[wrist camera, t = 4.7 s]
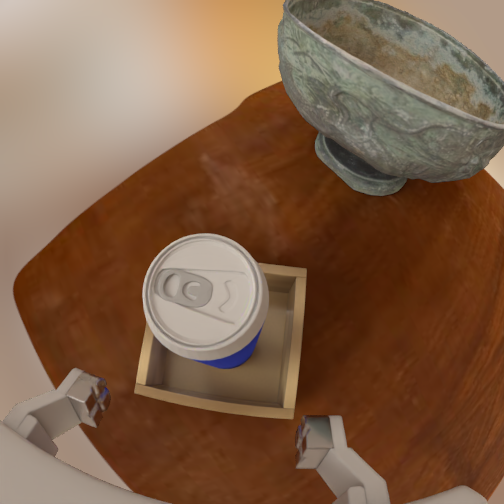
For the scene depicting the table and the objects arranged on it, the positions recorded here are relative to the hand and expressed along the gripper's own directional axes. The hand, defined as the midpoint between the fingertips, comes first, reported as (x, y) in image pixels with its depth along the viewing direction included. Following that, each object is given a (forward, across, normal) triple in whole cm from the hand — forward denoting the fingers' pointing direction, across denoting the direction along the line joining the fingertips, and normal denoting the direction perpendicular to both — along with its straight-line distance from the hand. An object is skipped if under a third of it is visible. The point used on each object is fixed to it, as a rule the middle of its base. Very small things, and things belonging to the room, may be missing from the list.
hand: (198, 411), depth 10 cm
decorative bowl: (+30, -14, -10) cm, 35 cm away
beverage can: (+13, 0, +6) cm, 14 cm away
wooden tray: (+13, 0, +7) cm, 15 cm away
